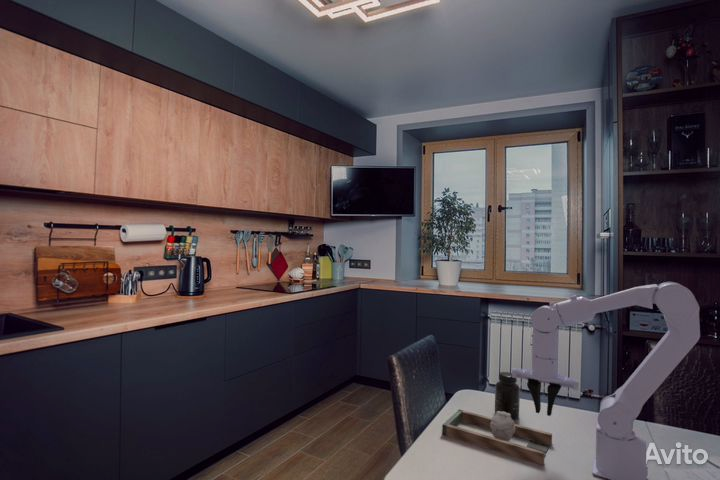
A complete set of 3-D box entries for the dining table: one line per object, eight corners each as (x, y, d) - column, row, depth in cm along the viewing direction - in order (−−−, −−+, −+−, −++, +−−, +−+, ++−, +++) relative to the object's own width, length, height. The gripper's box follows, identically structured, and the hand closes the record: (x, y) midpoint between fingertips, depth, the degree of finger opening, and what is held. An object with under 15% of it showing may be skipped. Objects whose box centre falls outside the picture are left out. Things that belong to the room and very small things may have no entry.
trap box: (551, 443, 100) (552, 433, 100) (543, 465, 90) (543, 454, 90) (458, 418, 113) (459, 409, 113) (442, 434, 103) (442, 424, 103)
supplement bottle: (521, 421, 112) (522, 379, 113) (496, 418, 114) (497, 376, 114) (516, 412, 119) (517, 371, 119) (493, 409, 120) (494, 369, 121)
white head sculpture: (517, 438, 102) (517, 411, 102) (512, 450, 96) (513, 421, 96) (492, 432, 105) (493, 405, 105) (486, 443, 99) (487, 415, 99)
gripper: (580, 358, 95) (579, 415, 95) (517, 348, 103) (515, 400, 103) (577, 364, 89) (576, 425, 89) (510, 353, 97) (509, 409, 97)
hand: (543, 413), depth 96 cm, fingers closed
